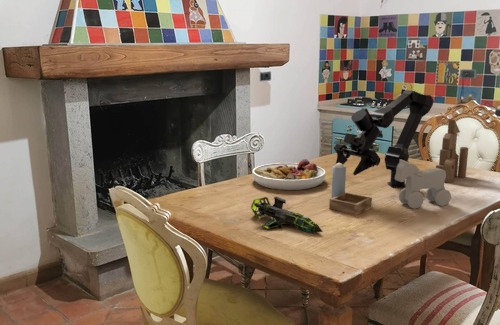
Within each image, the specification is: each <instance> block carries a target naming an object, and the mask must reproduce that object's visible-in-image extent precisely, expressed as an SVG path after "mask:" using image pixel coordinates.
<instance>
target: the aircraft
mask: <svg viewBox="0 0 500 325" xmlns="http://www.w3.org/2000/svg"><path fill="white" fill-rule="evenodd" d="M273 199H274V204H272V205H271V202H270V200H269V198H268V197H267V196H264V197H260V198H256V199H253V201H252V203H251V206H250V209H251V211H252V213H253V214H254V216H255V217H256V218H258V219H259V218H260V216H262V215H263V216H264V215H265V216H268V217H270V218H272V219H270V220H269V221H267V222H266V223H265V224H263V225H262V226H261V227H262V228H265V229H267V230H269V229H270V230H271V229H273V228H278V229H282V227H283V225H287V226H288V227H289V226H290V227H292V228H294V229H298V230H300V231H302V232H307V233H313V234H317V233H323V232H324V231H323V230H322V229H321V227H320V226H319V224H317V223H315V222H314V221H313V220H312V219H311V218H309V217H306V216H305V215H304V214H301V213H298V212H293V211H291V210H287V209H285V208H283V205H286V203H287V201H286V199H284V198H281V197H278V196H275V197H273ZM258 212H259V213H258Z"/></svg>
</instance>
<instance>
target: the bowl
mask: <svg viewBox="0 0 500 325" xmlns="http://www.w3.org/2000/svg"><path fill="white" fill-rule="evenodd" d="M252 177H253V180H254V181H255V183H257V184H258V185H260V186H262V187H265V188H269V189H273V190H281V191H300V190H308V189H312V188H316V187H317V186H319V185H321V184H322V183H323V182H324V180H325V179H326V170H325V168H322V167H320V166H317V164H315V163H314V162H312V163H310V161H309V159H306V158H305V159H301V160H300V161H299V162H298V163H297V162H279V163H278V162H275V163H268V164H262V165H259V166H256V167H254V168H253V169H252Z"/></svg>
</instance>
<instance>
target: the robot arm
mask: <svg viewBox="0 0 500 325" xmlns="http://www.w3.org/2000/svg"><path fill="white" fill-rule="evenodd" d="M433 106H434V99H433V97H432V95H430V94H423V93H420V92H418V91H416V90H410V89H409V90H408V89H407V90H404V91H403V92H402V93H401V94H400V95H399V96H398V97H397V98H395V99H394V100H393V101H391V102H390V103H388V104H387V105H386V106H384V107H382V108H378V109H376V110H374V111H372V112H371V113H370V112H369V110H368V108H365V107H361V109H359V110H357V111H355V112H353V113H352V115H351V121H352V122H353V124H354V125H355V127H356V128H357V129H358V131H359V132H361V133H358V134H354V133H353V134H352V133H347V132H346V133H345V135H344V138H343V141H342V142H344V143H346V144H348V147H349V148H350V149H349V148H348V147H347V145H346V144H342V143H336V144H335V145H334V147H333V149H334V151H335V153H336V156H337V157H336V162H335V165H336V164H337V163H341V164H343V165H344V164H345V163H346V162H348V160H349V159H348V158H350V157H351V156H353V157H357V158H360V161H359V163H358V165H357V166H356V167H355V169H354V170H353V173H352V175H353V176H357V175H359V174H360V173H362V172H364V171H366V170H368V169H370V168H374V167H375V166H376V167H378V166H379V165H380V163H381V157H380V156H379V154H378V153H377V152H376V150H373V149H374V143H375V142H376V140H377V138H378V139H379V138H381V139H382V138H383V137H384V135H383V130H381V129H379V128H382V129H386V128H388V127H390V126H391V125H392V123H393V122H394V120H395V117H396V116H398V114H400V113H401V112H402V111H403V110H404V109H405V108H407V107H409V115H408V116H407V119H406V120H405V123H404V125H403V128H402V129H401V132H400V135H399V137H398V139H397V142H396V144H395V145H393V146H391V145H389V146H388V148H387V150H386V153H385V154H384V164H385V169H386V170H389V171H390V181H388V182H387V185H388V186H390V187H391V188H406V180H405V181H404V182H399V181H397V180H395V175H396V168H397V165H398V164H399V159H401V160H404V161H406V162H409V158H410V155H409V148H410V146H411V143H412V140H413V139H414V136H415V134H416V132H417V130H418V127H419V125H420V124H421V123H420V122H421V120H422V118H423V117H424V116H426V115H427V114H428V113H429V112H430V111H431V109H432V107H433ZM335 165H334V166H335Z"/></svg>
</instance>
